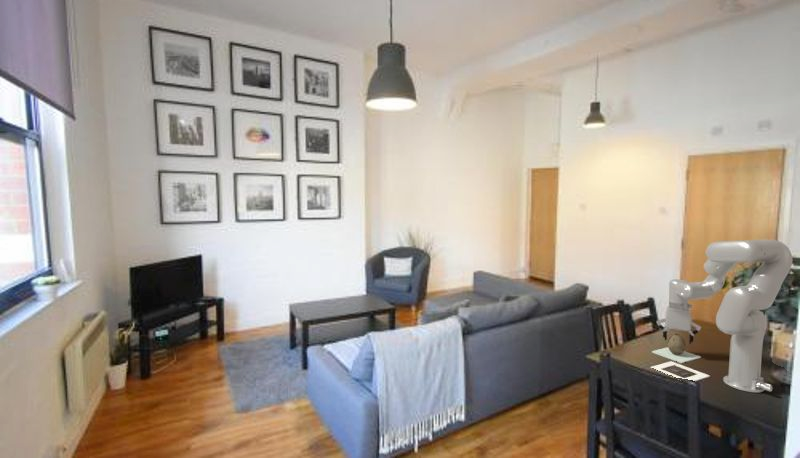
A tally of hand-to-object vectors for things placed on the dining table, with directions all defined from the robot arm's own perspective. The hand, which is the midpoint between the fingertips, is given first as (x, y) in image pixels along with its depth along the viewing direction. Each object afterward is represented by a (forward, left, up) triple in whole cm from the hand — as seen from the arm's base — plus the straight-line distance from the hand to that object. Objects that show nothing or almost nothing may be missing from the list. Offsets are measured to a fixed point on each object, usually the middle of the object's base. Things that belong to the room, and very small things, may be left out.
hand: (677, 341), depth 187 cm
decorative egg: (+1, 0, -7) cm, 7 cm away
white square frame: (-11, +17, -7) cm, 22 cm away
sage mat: (+1, 0, -7) cm, 7 cm away
